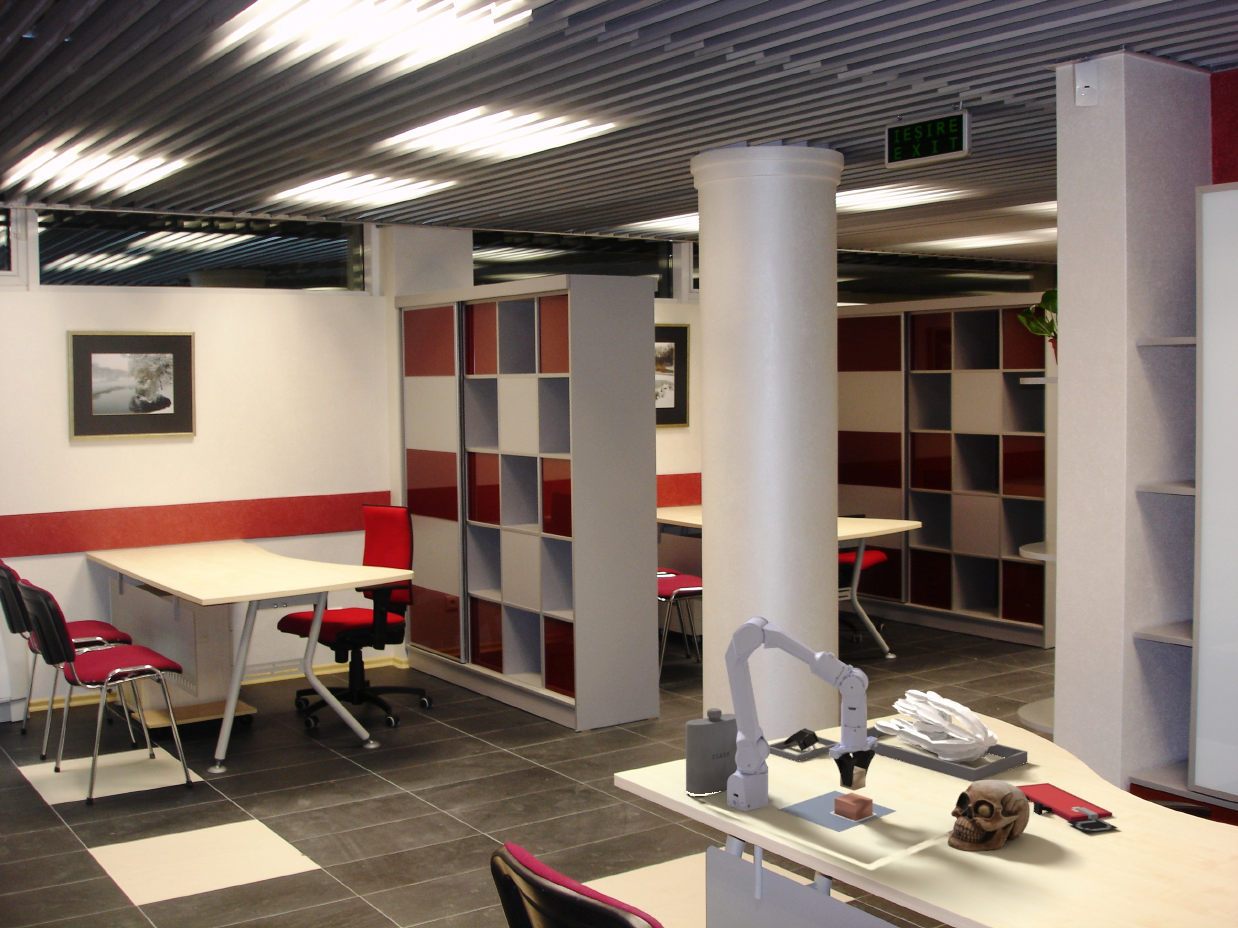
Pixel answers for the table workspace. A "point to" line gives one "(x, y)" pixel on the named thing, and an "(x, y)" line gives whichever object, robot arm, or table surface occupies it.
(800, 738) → the power plug
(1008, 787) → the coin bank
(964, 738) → the white sculpture
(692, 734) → the flask
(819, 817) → the board
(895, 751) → the grey tray
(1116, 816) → the table surface
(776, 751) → the frame
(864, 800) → the base block
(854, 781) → the maple cube
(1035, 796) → the red board with handle
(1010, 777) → the table surface
